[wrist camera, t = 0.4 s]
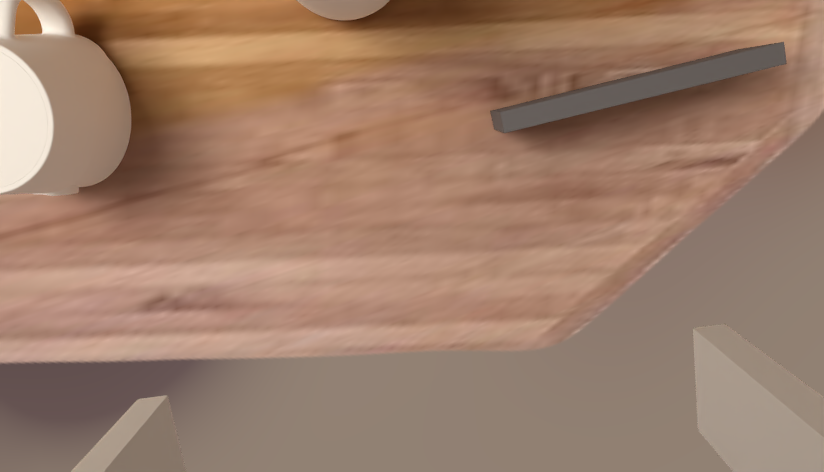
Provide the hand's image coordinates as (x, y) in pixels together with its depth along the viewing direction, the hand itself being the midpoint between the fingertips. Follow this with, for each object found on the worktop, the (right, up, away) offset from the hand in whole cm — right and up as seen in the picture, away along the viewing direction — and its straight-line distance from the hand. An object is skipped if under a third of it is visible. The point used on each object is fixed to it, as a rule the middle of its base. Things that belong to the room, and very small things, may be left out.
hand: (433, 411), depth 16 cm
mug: (-22, +13, +25) cm, 36 cm away
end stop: (+12, +14, +25) cm, 31 cm away
